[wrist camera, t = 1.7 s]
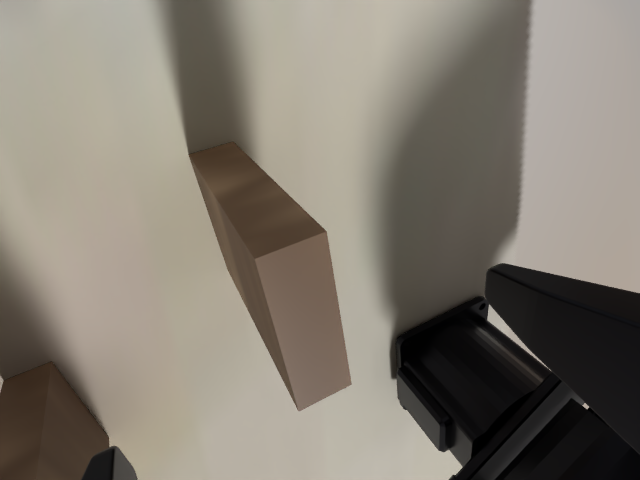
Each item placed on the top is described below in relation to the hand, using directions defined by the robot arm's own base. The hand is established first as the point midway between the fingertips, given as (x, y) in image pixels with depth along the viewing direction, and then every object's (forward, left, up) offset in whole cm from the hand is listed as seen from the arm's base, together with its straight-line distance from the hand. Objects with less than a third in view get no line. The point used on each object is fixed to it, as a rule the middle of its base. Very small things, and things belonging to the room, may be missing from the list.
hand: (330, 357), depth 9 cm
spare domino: (0, 0, -8) cm, 8 cm away
